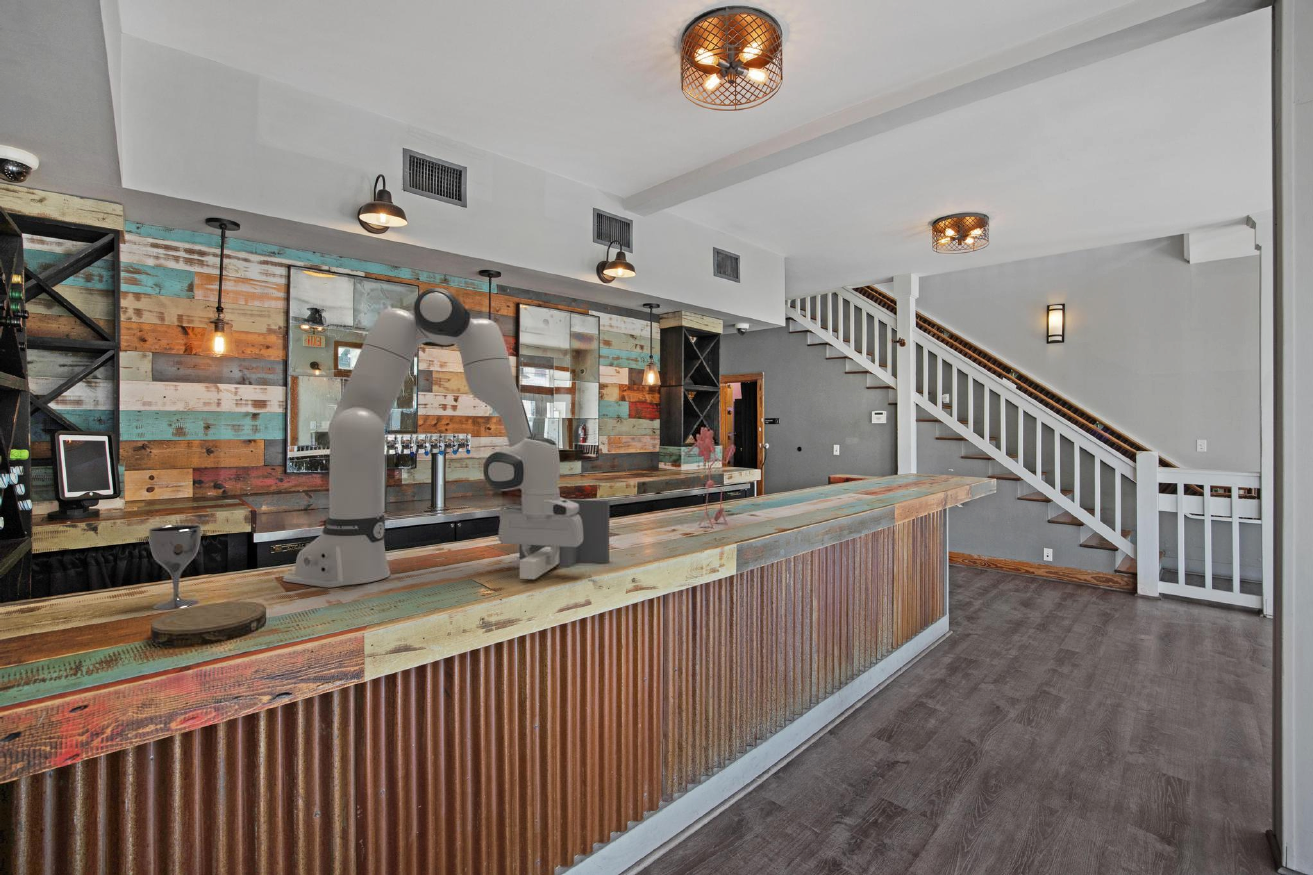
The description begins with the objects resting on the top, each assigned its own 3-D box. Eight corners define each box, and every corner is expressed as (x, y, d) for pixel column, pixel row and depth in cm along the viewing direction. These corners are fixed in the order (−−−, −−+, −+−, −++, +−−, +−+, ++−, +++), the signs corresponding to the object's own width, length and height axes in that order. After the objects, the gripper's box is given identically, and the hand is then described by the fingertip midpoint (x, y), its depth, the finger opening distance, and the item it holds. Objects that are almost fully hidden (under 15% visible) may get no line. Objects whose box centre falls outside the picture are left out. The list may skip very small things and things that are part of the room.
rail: (519, 578, 138) (519, 551, 138) (554, 557, 160) (554, 534, 160) (534, 579, 138) (534, 552, 137) (567, 557, 159) (567, 534, 159)
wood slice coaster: (124, 648, 97) (124, 629, 97) (199, 617, 113) (199, 601, 113) (225, 649, 97) (225, 630, 97) (285, 617, 113) (285, 601, 113)
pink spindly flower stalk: (741, 522, 226) (740, 426, 225) (702, 531, 205) (700, 427, 205) (706, 519, 235) (705, 427, 235) (665, 527, 215) (664, 427, 215)
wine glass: (159, 613, 115) (159, 532, 114) (142, 606, 119) (141, 528, 118) (208, 602, 121) (208, 526, 121) (190, 596, 126) (190, 523, 125)
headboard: (509, 563, 157) (509, 501, 156) (522, 557, 165) (522, 497, 164) (600, 568, 152) (600, 504, 152) (609, 561, 160) (609, 500, 160)
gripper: (493, 505, 144) (493, 564, 145) (577, 508, 140) (576, 569, 141) (505, 502, 150) (505, 558, 151) (585, 505, 146) (585, 563, 147)
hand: (540, 563), depth 146 cm, fingers closed on rail, 3 cm apart
